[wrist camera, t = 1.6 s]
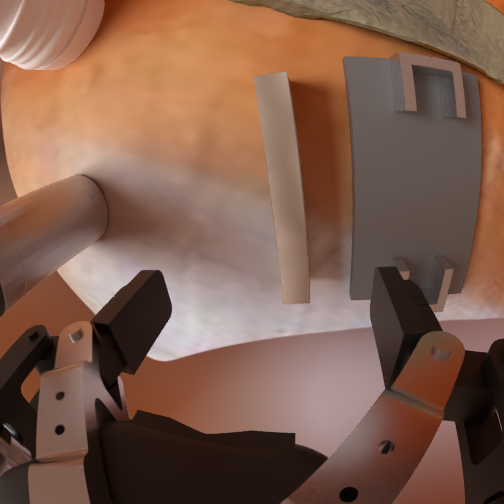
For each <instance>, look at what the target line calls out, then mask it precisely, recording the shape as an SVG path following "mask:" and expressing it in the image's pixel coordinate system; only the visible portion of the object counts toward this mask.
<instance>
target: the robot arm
mask: <svg viewBox="0 0 504 504" xmlns="http://www.w3.org/2000/svg"><path fill="white" fill-rule="evenodd" d="M107 223H108V210H107V205H106V201H105V198H104V196H103V194H102V192H101V190H100V189H99V187H98V186H97V185H96V184H95V183H94V182H93V181H92V180H91V179H89V178H88V177H86V176H83V175H75V176H72V177H69V178H66V179H63V180H61V181H58V182H55V183H52V184H50V185H47V186H45V187H42V188H40V189H38V190H35V191H33V192H30V193H28V194H26V195H24V196H21V197H19V198H17V199H15V200H13V201H10V202H8V203H6V204H4V205H2V206H0V317H1V316H2V315H3V314H4V313H5V312H6V311H7V310H8V309H10V308H11V307H12V306H13V305H14V304H15V303H16V302H18V301H19V300H20V299H21V298H22V297H23V296H25V295H26V294H27V293H28V292H29V291H30V290H32V289H33V288H34V287H35V286H37V285H38V284H39V283H40V282H41V281H43V280H44V279H45V278H46V277H48V276H49V275H50V274H52V273H53V272H54V271H56V270H57V269H58V268H60V267H61V266H62V265H64V264H65V263H66V262H68V261H69V260H70V259H72V258H73V257H74V256H76V255H77V254H78V253H80V252H81V251H83V250H84V249H86V248H87V247H88V246H90V245H91V244H93V243H94V242H96V241H97V240H98V239H100V238H101V237H102V236H103V234H104V233H105V230H106V228H107ZM171 313H172V304H171V300H170V297H169V294H168V290H167V287H166V284H165V280H164V277H163V274H162V272H161V271H159V270H142V271H140V272H139V273H138V274H137V275H136V276H135V277H134V278H133V279H132V280H131V282H130V283H129V284H127V285H126V286H124V287H123V288H121V289H120V290H119V291H118V292H117V293H116V294H115V295H114V297H112V298H111V300H110V301H109V303H107V304H106V305H105V306H104V307H103V308H102V309H101V310H100V311H99V312H98V313H97V314H96V316H95V317H94V318H93V319H92V320H91V321H90V322H86V321H79V322H76V323H73V324H71V325H69V326H68V327H66V328H65V329H64V330H63V331H62V332H61V334H60V336H52V337H51V336H50V335H49V333H48V331H47V329H46V327H45V326H43V325H36V326H33V327H31V328H29V329H28V330H26V331H25V332H24V333H23V334H22V335H21V336H20V338H19V339H18V340H17V341H16V342H15V343H14V344H13V345H12V346H11V347H10V349H9V350H8V351H7V352H6V353H5V354H4V356H3V357H2V358H1V359H0V504H392V503H393V502H394V500H395V499H396V498H397V496H398V495H399V494H400V492H401V491H402V489H403V488H404V486H405V485H406V483H407V482H408V480H409V479H410V477H411V476H412V474H413V473H414V471H415V469H416V468H417V466H418V465H419V463H420V461H421V459H422V457H423V456H424V454H425V453H426V451H427V449H428V447H429V445H430V444H431V442H432V440H433V438H434V436H435V434H436V432H437V430H438V428H439V426H440V424H441V422H442V420H446V421H447V420H448V421H455V425H456V430H457V435H458V440H459V446H460V453H461V460H462V468H463V476H464V487H465V504H504V339H499V340H496V341H495V342H493V344H492V345H491V347H490V349H489V351H488V353H485V352H475V351H467V350H465V349H464V346H463V344H462V342H461V341H460V340H459V339H458V338H457V337H456V336H454V335H452V334H450V333H447V332H443V330H442V328H441V326H440V324H439V322H438V320H437V318H436V316H435V314H434V312H433V311H432V309H431V307H430V306H429V303H428V301H427V299H426V298H425V296H424V294H423V292H422V290H421V288H420V287H419V286H418V285H417V284H415V283H414V282H413V281H411V280H410V279H408V280H403V278H402V276H401V274H400V272H399V270H398V268H397V267H396V266H386V267H376V268H375V271H374V278H373V287H372V296H371V303H370V318H371V323H372V328H373V331H374V336H375V340H376V344H377V349H378V354H379V358H380V363H381V368H382V373H383V379H384V383H385V390H384V391H383V392H382V394H381V395H380V396H379V398H378V399H377V401H376V402H375V403H374V405H373V406H372V407H371V409H370V410H369V411H368V413H367V414H366V415H365V416H364V418H363V419H362V420H361V421H360V423H359V424H358V425H357V427H356V428H355V429H354V430H353V431H352V432H351V434H350V435H349V436H348V437H347V438H346V439H345V441H344V442H343V443H342V444H341V445H340V446H339V447H338V449H337V450H336V451H335V452H334V453H333V454H332V455H331V456H330V457H329V458H328V457H326V456H325V455H323V454H321V453H319V452H317V451H315V450H313V449H310V448H308V447H305V446H301V445H298V444H295V433H278V432H263V431H243V432H232V433H219V434H205V433H202V432H199V431H197V430H195V429H193V428H191V427H188V426H186V425H184V424H182V423H180V422H178V421H176V420H174V419H172V418H169V417H165V416H161V415H156V414H152V413H148V412H145V411H141V410H137V412H136V414H135V416H134V418H133V419H130V418H129V415H128V410H127V405H126V400H125V395H124V389H123V383H122V380H121V378H120V377H119V375H120V373H121V372H124V373H128V374H133V375H134V374H135V372H136V371H137V369H138V367H139V366H140V364H141V363H142V361H143V360H144V358H145V356H146V355H147V353H148V352H149V350H150V348H151V347H152V345H153V344H154V342H155V340H156V339H157V337H158V336H159V334H160V333H161V331H162V330H163V328H164V326H165V325H166V323H167V322H168V320H169V319H170V317H171ZM34 367H35V369H36V370H37V372H38V373H39V375H40V376H41V377H42V378H41V385H40V389H39V390H38V391H37V393H36V394H35V396H34V397H33V399H32V400H31V401H30V403H28V402H27V400H26V399H25V398H24V397H23V395H22V393H21V385H22V383H23V381H24V380H25V379H26V377H27V376H28V375H29V373H30V372H31V371H32V370H33V368H34ZM496 410H497V412H498V415H499V419H500V423H501V426H502V430H501V426H500V423H499V419H498V416H497V412H496ZM3 424H4V426H3Z"/></svg>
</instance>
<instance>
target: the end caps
mask: <svg viewBox="0 0 504 504" xmlns="http://www.w3.org/2000/svg"><path fill="white" fill-rule="evenodd" d="M388 61H389V67H390V74H391V82H392V91H393V101H394V111H395V112H414V111H417V107H416V96H415V87H414V79H413V72H418V73H425V74H431V75H437V76H438V80H439V88H440V97H441V109H442V116H443V117H450V118H466V109H465V97H464V88H463V80H462V73H461V67H460V63H457V62H453V61H449V60H444V59H440V58H435V57H430V56H424V55H418V54H412V53H405V52H397V53H396V54H394V55H393V56H392V57H390V58H389V59H388ZM391 266H396V267H397V268H398V270H399V272H400V274H401V276H402V278H403V280H408V278H409V272H410V271H409V269H408V268H407V266H406V264H405V263H404V261H403V259H402V258H401V257H392V260H391ZM452 274H453V268H452V266H451V265H450V264H449V263H448V262H447V260H446V259H445V258H444V257H443V256H442V255H436V256H434V261H433V266H432V271H431V277H430V281H429V286H428V289H421V290H422V292H423V294H424V296H425V298H426V299H427V301H428V303H429V306H430V307H431V309H432V311H433V312H440V311H443V308H444V305H445V301H446V298H447V294H448V290H449V286H450V282H451V278H452Z"/></svg>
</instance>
